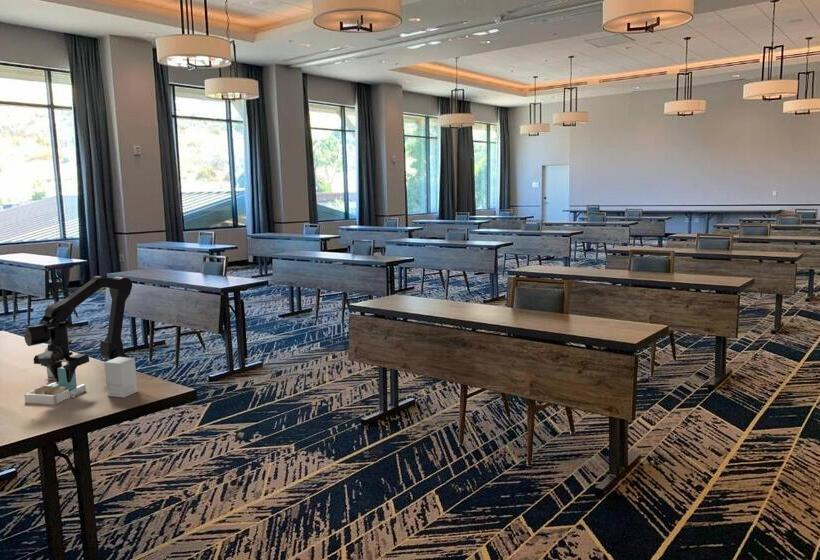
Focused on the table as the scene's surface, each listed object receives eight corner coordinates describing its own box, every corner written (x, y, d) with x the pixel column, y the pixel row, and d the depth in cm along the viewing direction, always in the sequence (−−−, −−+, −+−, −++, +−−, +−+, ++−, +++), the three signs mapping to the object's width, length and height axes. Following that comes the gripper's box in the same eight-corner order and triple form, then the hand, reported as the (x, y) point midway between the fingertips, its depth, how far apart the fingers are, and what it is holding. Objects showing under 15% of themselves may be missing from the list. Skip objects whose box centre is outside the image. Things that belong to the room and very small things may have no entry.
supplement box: (138, 391, 230) (135, 357, 228) (123, 398, 223) (120, 363, 221) (122, 389, 232) (119, 356, 230) (106, 396, 225) (103, 361, 223)
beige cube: (66, 397, 224) (64, 386, 224) (57, 401, 220) (56, 390, 220) (56, 397, 225) (55, 386, 224) (47, 401, 221) (46, 390, 221)
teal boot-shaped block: (61, 388, 234) (59, 364, 233) (83, 389, 232) (80, 365, 231) (45, 395, 226) (42, 371, 225) (67, 396, 225) (64, 372, 223)
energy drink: (56, 380, 244) (53, 350, 242) (44, 379, 245) (41, 349, 243) (66, 376, 249) (63, 346, 247) (54, 375, 250) (51, 346, 248)
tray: (69, 397, 224) (69, 389, 223) (55, 404, 217) (54, 396, 217) (40, 395, 226) (39, 387, 226) (25, 402, 220) (24, 394, 219)
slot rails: (86, 390, 231) (85, 384, 231) (71, 397, 224) (70, 391, 223) (54, 388, 234) (54, 382, 233) (39, 395, 226) (38, 389, 226)
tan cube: (54, 397, 225) (52, 386, 225) (45, 400, 221) (44, 389, 221) (44, 396, 226) (43, 385, 225) (35, 400, 222) (34, 389, 222)
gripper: (19, 344, 221) (24, 387, 223) (65, 346, 217) (70, 390, 219) (43, 337, 231) (47, 378, 234) (88, 338, 228) (92, 380, 230)
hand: (63, 382), depth 229 cm, fingers closed on teal boot-shaped block, 4 cm apart
